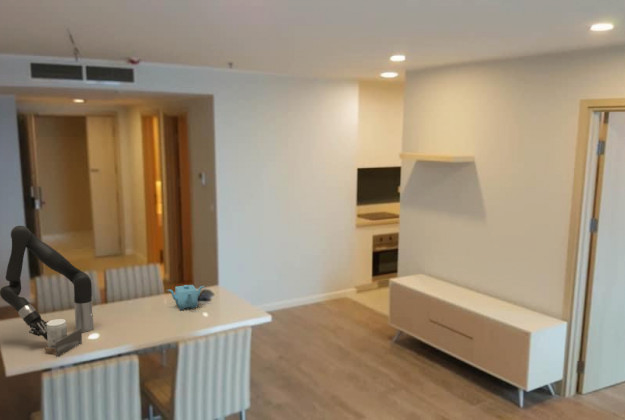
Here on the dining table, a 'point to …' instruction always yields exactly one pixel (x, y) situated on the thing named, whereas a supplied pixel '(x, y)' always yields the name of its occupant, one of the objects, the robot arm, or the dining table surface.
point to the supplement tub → (56, 331)
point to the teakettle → (186, 296)
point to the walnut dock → (66, 343)
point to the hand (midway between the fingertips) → (49, 339)
